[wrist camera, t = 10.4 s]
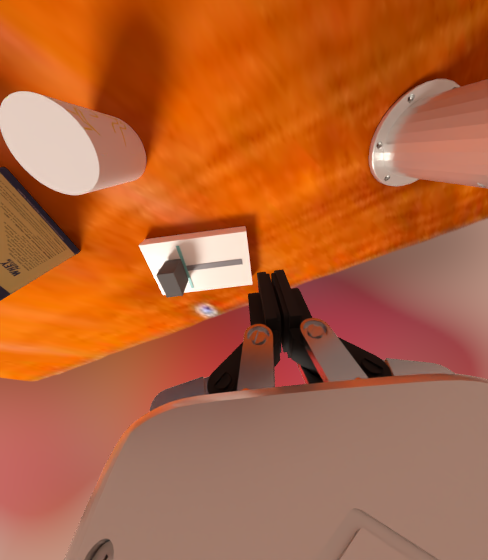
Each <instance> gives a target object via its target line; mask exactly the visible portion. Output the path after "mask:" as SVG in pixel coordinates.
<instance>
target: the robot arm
mask: <svg viewBox="0 0 488 560" xmlns="http://www.w3.org/2000/svg"><path fill="white" fill-rule="evenodd" d="M376 145H377V146H376ZM369 166H370V169H371V173H372V174H373V176H374V178H375V179H376V180H378V181H379V182H380V183H382V184H385V185H389V186H403V185H407V184H410V183H412V182H414V181H416V180H418V179H425V180H432V181H439V182H446V183H453V184H461V185H468V186H475V187H482V188H488V79H485V80H482V81H479V82H475V83H472V84H468V85H465V86H462V87H460V85H458V84H457V83H456V82H454V81H452V80H449V79H435V80H431V81H428V82H425V83H423V84H420V85H418V86H416V87H414V88H413V89H411V90H409V91H408V92H406V93H405V94H404V95H403V96H402V97H400V98H399V99H398V100H397V101H396V102H395V103H394V104H393V105H392V106H391V107H390V109H389V110H388V111H387V113H386V114H385V115H384V117H383V118H382V120H381V122H380V123H379V125H378V127H377V129H376V131H375V134H374V136H373V138H372V142H371V146H370V151H369ZM257 277H258V288H259V293H250V294H248V299H249V310H250V322H251V326H250V327H249V328H247V330H246V331H245V334H244V341H243V343H242V344H241V345H240V346H239V347H238V348H237V349H236V350H235V351H234V352H233V353H232V354H231V355H230V356H229V357H228V358H227V359H226V360H225V361H224V362H223V363H222V364H221V365H220V366H219V367H218V368H217V369H216V370H215V371H214V372H213V373H212V374H211V375H210V376H209V377H207V378H203V377H200V378H198V379H195V380H192V381H189V382H186V383H183V384H180V385H177V386H174V387H171V388H169V389H166V390H164V391H162V392H160V393H159V394H158V395H157V396H156V397H155V398H154V400H153V402H152V404H151V407H150V412H148V413H147V414H145V415H143V416H142V417H141V418H139V419H138V420H136V421H135V422H134V423H133V424H132V425H131V426H129V427H128V429H127V430H126V431H125V432H124V434H123V435H122V436H121V437H120V439H119V440H118V442H117V444H116V445H115V447H114V449H113V451H112V453H111V455H110V456H109V458H108V460H107V462H106V465H105V467H104V469H103V471H102V473H101V475H100V477H99V479H98V481H97V484H96V486H95V488H94V490H93V493H92V495H91V497H90V500H89V502H88V504H87V506H86V509H85V511H84V514H83V516H82V518H81V521H80V523H79V525H78V527H77V530H76V532H75V535H74V537H73V539H72V542H71V544H70V547H69V549H68V552H67V554H66V557H65V559H64V560H488V379H483V378H479V377H474V376H468V375H459V374H455V373H453V372H452V371H451V370H449V369H448V368H446V367H443V366H441V365H438V364H434V363H426V362H417V361H408V360H398V359H389V358H386V360H382V359H380V358H378V357H377V356H375V355H373V354H371V353H369V352H367V351H365V350H363V349H361V348H359V347H357V346H355V345H353V344H351V343H349V342H347V341H345V340H343V339H341V338H339V337H337V336H336V334H335V333H334V332H333V330H332V329H331V328H330V327H329V325H328V324H327V323H326V322H324V321H323V320H320V319H317V318H312V316H311V314H310V312H309V310H308V307H307V305H306V303H305V301H304V299H303V297H302V295H301V292H300V291H299V289H298V288H293V289H291V288H290V285H289V283H288V280H287V278H286V275H285V273H284V271H283V270H276V271H274V273H271V279H272V282H271V279H270V275H269V274H266V272H259V273H257ZM281 343H282V347H283V351H284V352H287V354H288V358H292V360H294V361H295V362H297V365H298V368H299V370H300V372H301V374H302V377H303V379H304V381H305V384H303V385H293V386H283V387H275V377H274V367H275V366H276V365H277V363H278V362H279V361H280V353H281Z"/></svg>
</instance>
